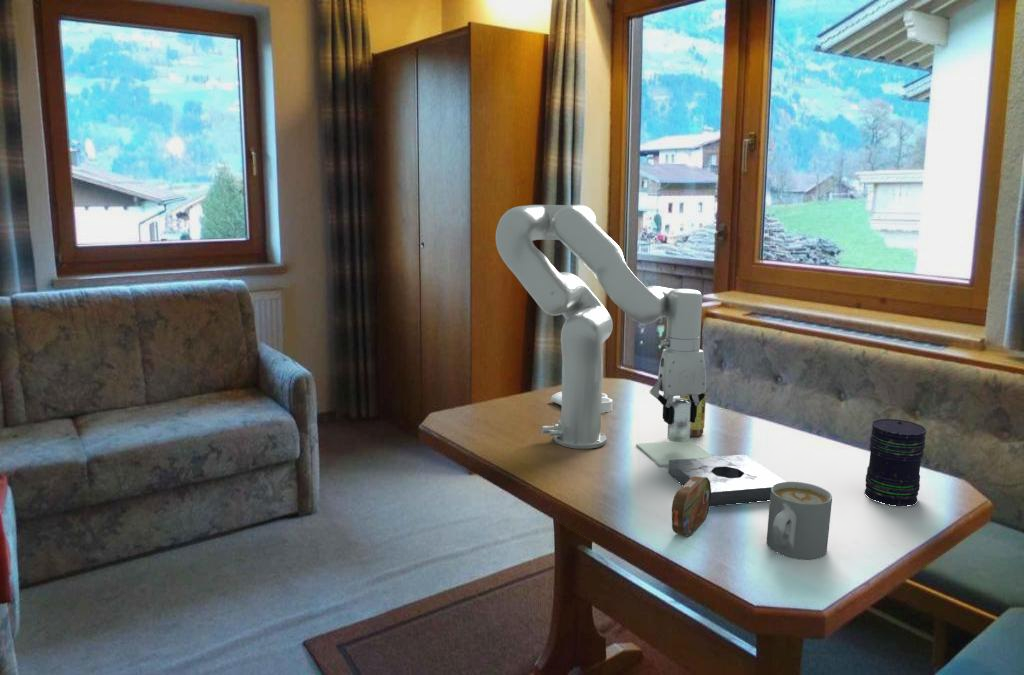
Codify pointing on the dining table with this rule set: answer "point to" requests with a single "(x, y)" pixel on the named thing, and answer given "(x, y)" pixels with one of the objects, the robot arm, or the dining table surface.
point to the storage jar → (895, 461)
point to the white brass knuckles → (605, 404)
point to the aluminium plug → (680, 420)
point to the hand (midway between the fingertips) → (679, 421)
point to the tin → (691, 505)
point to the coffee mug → (799, 520)
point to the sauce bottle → (698, 418)
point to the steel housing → (728, 477)
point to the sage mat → (672, 451)
